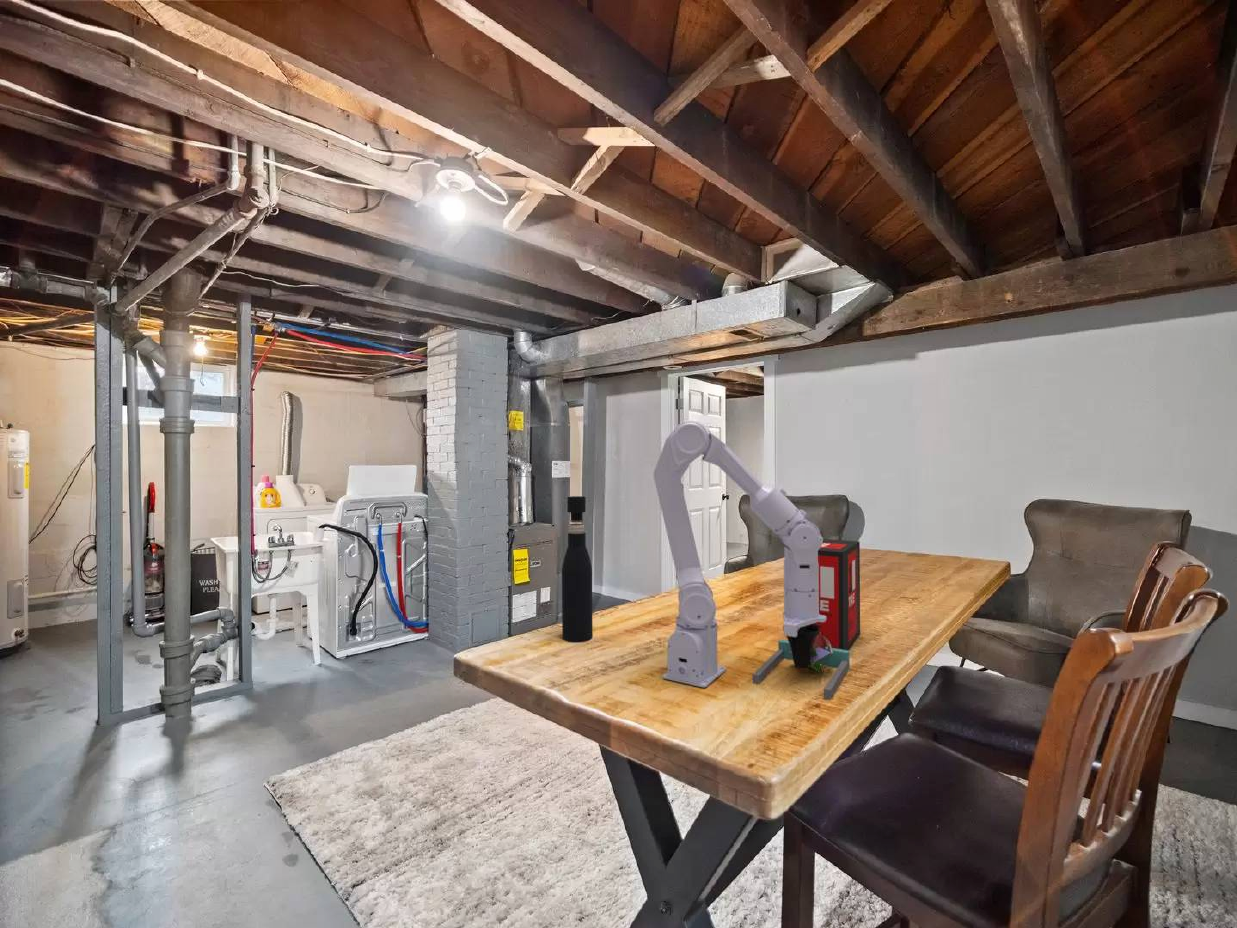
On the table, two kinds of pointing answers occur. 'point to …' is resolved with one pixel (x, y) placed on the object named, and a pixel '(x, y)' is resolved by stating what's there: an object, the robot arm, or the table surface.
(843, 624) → the cleaning product box
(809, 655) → the robot arm
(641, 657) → the table surface
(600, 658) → the table surface
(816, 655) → the geometric puzzle
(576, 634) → the black water bottle
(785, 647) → the u-shaped frame
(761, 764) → the table surface
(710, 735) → the table surface
